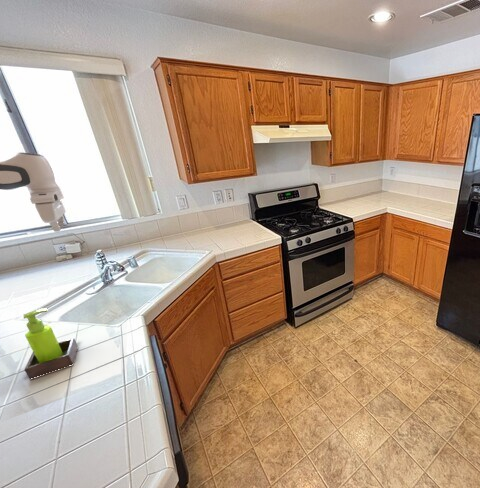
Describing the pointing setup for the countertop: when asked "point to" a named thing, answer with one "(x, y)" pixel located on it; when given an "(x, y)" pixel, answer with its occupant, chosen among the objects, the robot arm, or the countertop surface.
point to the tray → (52, 360)
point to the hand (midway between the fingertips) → (60, 228)
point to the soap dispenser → (42, 338)
